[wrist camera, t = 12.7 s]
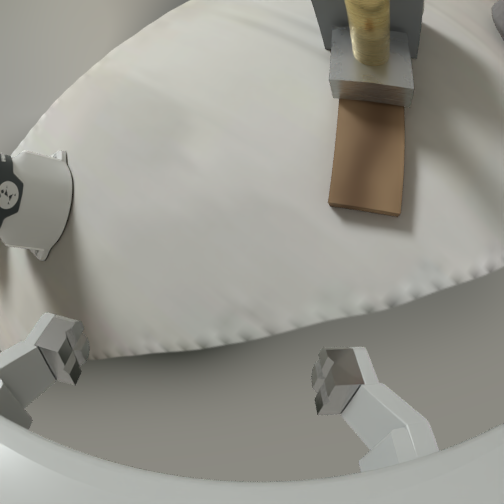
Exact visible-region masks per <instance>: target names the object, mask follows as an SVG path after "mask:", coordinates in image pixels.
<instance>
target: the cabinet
mask: <svg viewBox="0 0 504 504" xmlns="http://www.w3.org/2000/svg"><path fill="white" fill-rule="evenodd" d="M311 1H312V4H313V7H314V10H315V14H316V17H317V20H318V24H319V27H320V31H321V34H322V38H323V42H324V46H325V49H331V45H332V26H344V27H349V23H348V17H347V11H346V6H345V1H344V0H311ZM423 12H424V0H390V31H397V32H403V33H407V37H408V43H409V50H410V57H411V58H416V59H417V52H418V46H419V38H420V31H421V22H422V15H423Z"/></svg>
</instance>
